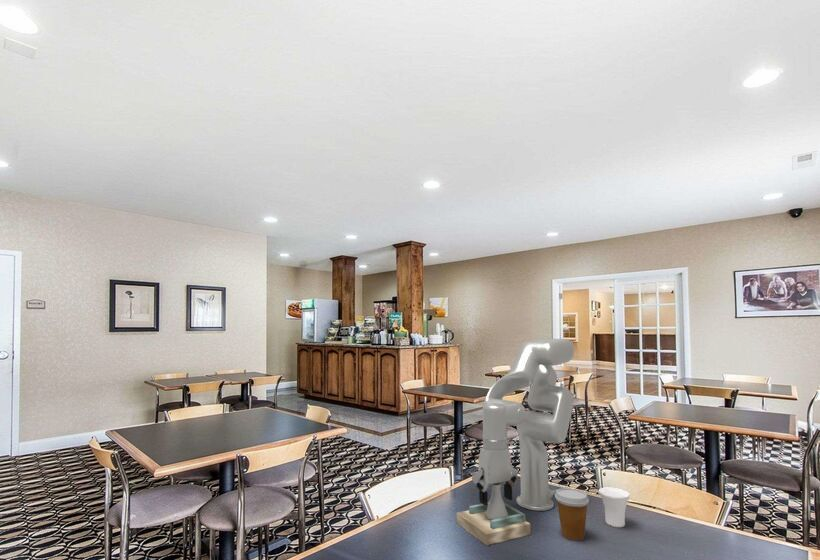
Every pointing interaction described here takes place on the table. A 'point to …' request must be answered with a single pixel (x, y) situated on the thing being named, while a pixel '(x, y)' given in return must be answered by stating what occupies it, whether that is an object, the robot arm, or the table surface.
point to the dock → (493, 524)
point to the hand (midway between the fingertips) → (496, 501)
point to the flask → (496, 504)
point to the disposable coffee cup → (572, 512)
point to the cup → (614, 505)
